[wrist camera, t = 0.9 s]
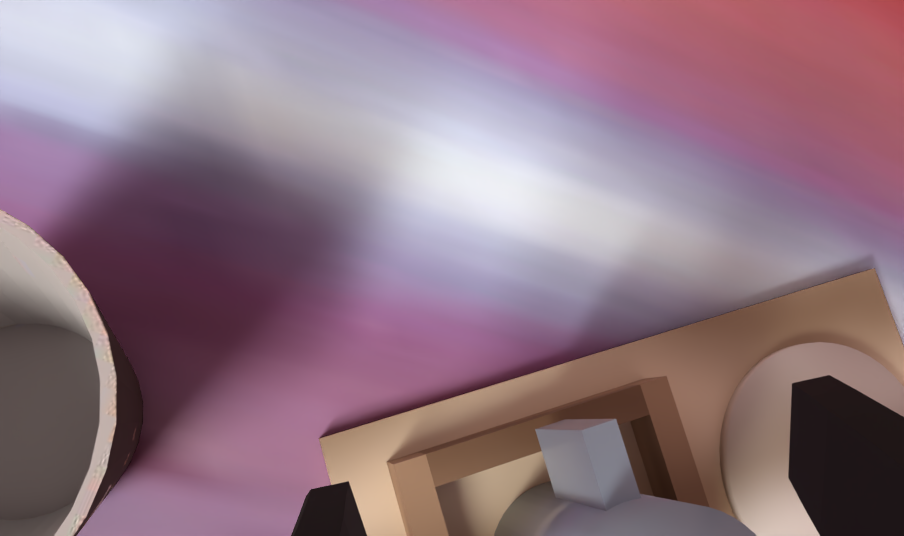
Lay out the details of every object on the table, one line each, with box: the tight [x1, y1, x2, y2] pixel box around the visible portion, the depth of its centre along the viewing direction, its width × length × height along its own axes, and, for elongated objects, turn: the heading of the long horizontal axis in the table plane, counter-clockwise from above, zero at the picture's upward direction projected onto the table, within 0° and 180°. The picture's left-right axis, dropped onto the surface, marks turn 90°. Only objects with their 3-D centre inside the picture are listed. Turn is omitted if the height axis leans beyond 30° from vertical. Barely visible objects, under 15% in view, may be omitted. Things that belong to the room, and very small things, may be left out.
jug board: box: [319, 268, 904, 536], centre depth 25 cm, size 12×22×2 cm, turn 107°
